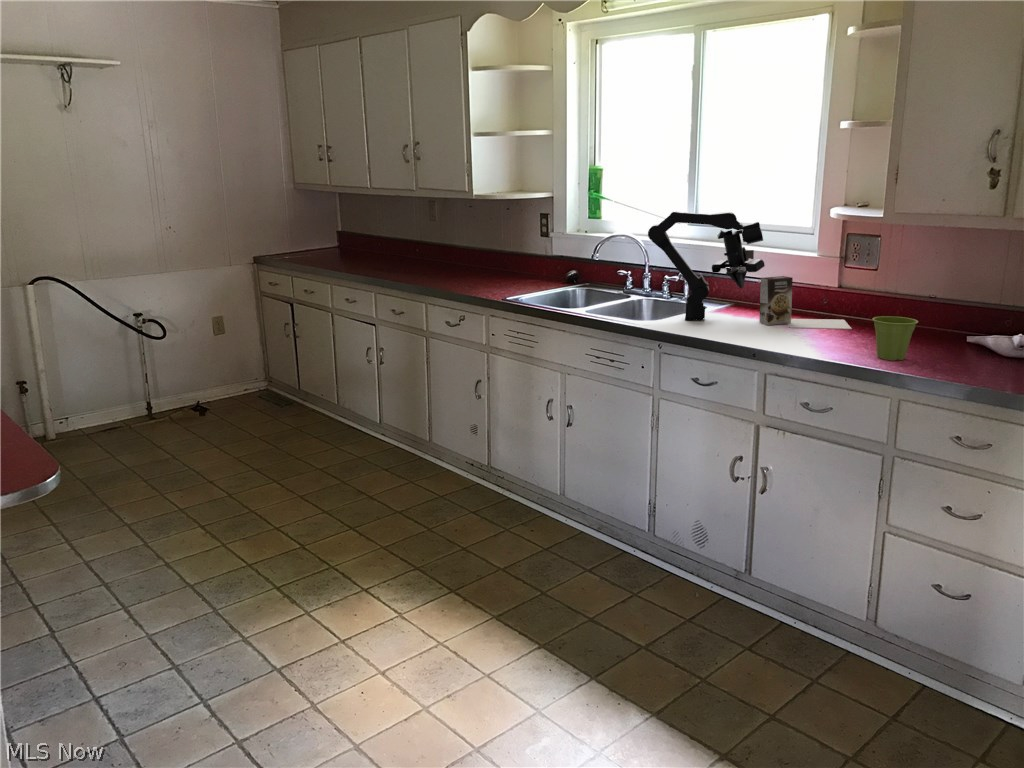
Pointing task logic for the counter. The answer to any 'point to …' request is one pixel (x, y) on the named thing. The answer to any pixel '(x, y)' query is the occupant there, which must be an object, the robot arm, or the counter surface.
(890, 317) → the plant pot
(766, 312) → the cookie box
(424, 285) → the counter surface
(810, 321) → the mat
